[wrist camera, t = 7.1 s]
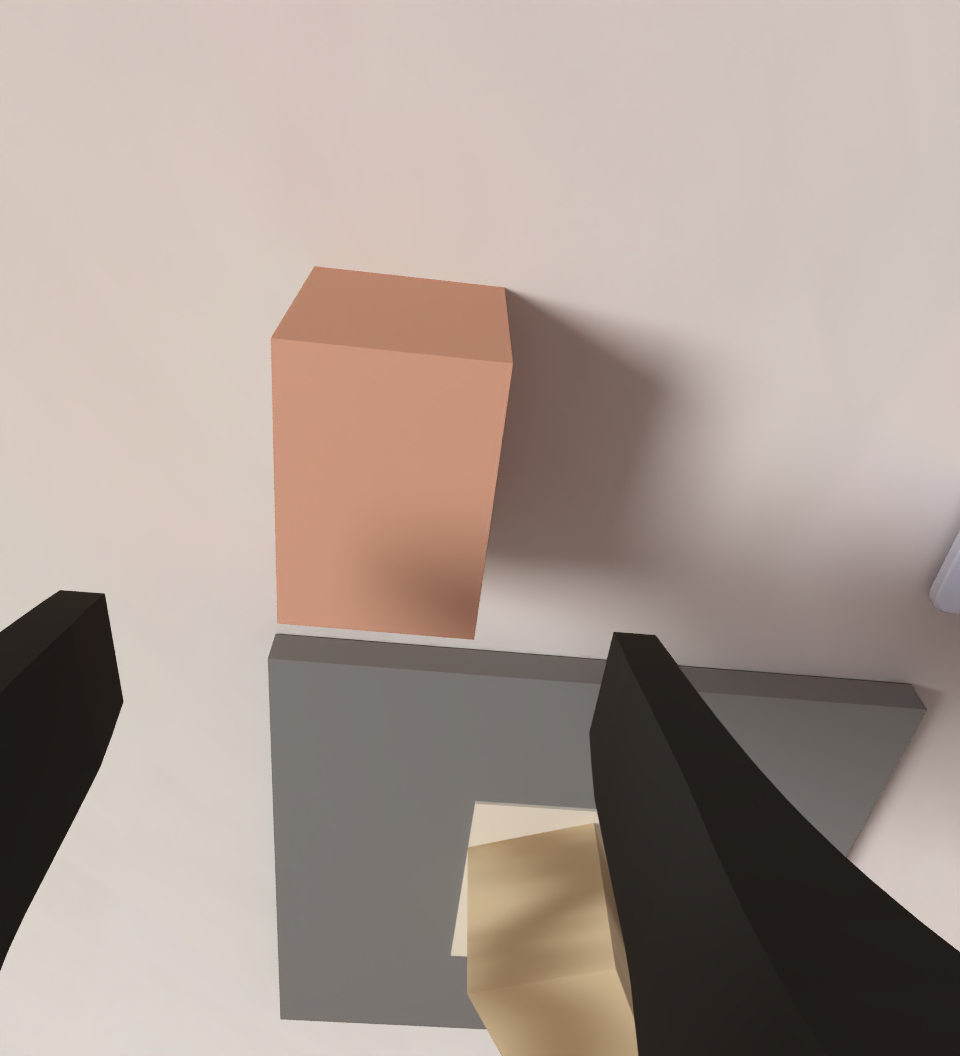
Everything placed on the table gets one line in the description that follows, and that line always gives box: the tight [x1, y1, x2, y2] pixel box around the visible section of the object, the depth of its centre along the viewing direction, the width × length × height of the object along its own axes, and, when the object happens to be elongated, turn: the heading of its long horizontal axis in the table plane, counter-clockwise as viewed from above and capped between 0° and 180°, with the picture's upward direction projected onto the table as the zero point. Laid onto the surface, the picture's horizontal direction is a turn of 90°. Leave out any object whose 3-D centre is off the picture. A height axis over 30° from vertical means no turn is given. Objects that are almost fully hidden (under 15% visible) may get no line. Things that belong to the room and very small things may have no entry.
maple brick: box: [467, 823, 638, 1056], centre depth 25 cm, size 4×6×4 cm, turn 16°
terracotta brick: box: [271, 267, 513, 640], centre depth 17 cm, size 4×6×4 cm, turn 174°
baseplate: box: [268, 634, 927, 1029], centre depth 27 cm, size 18×18×1 cm
